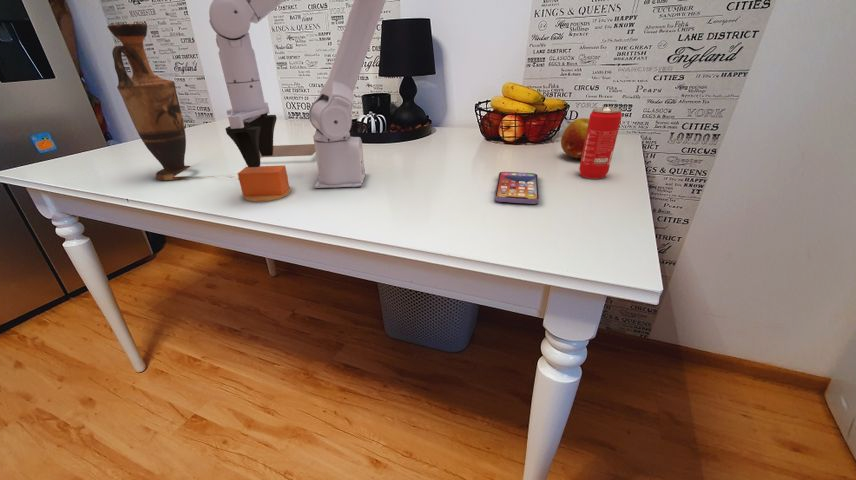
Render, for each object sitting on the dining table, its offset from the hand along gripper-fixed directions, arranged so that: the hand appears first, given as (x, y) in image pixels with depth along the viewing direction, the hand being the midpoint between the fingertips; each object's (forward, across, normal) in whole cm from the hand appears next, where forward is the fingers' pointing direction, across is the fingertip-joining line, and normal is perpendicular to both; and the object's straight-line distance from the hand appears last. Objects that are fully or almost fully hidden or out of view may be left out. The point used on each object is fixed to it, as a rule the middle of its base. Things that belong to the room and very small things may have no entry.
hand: (261, 160), depth 76 cm
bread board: (+6, -29, -4) cm, 30 cm away
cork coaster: (+6, 0, 0) cm, 7 cm away
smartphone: (+7, +2, +48) cm, 48 cm away
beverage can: (+7, -5, +64) cm, 64 cm away
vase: (+6, -15, -27) cm, 32 cm away
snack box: (+6, 0, 0) cm, 6 cm away
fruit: (+7, -18, +66) cm, 69 cm away
